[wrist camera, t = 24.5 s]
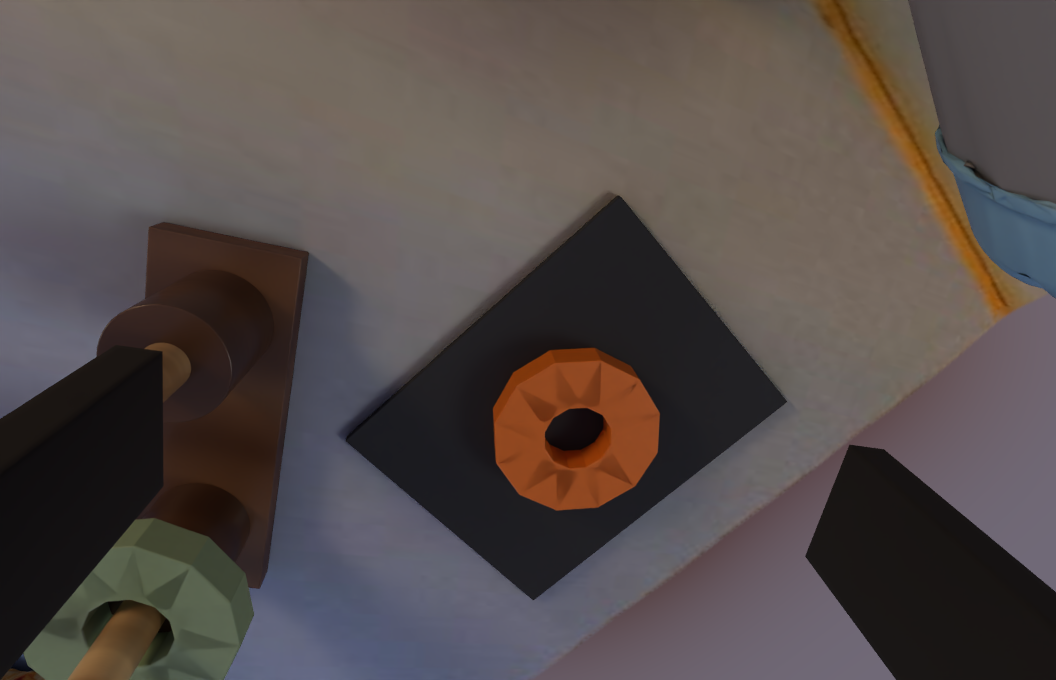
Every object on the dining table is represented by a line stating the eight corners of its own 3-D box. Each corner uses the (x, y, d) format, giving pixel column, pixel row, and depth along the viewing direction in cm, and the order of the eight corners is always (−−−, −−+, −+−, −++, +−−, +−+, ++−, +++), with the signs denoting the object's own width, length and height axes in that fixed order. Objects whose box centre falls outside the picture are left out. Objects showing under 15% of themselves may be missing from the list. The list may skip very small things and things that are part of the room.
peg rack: (162, 221, 31) (-38, 289, 19) (309, 252, 32) (211, 334, 20) (143, 556, 37) (-17, 773, 25) (267, 571, 38) (173, 786, 26)
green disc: (157, 484, 27) (134, 511, 25) (291, 617, 30) (279, 650, 28) (-2, 584, 28) (-35, 617, 26) (143, 704, 31) (123, 741, 29)
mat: (617, 194, 32) (620, 196, 32) (783, 398, 37) (787, 401, 37) (346, 436, 35) (344, 440, 35) (532, 595, 40) (533, 600, 40)
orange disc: (602, 318, 34) (610, 330, 32) (675, 440, 37) (686, 458, 35) (462, 402, 35) (462, 418, 33) (544, 515, 38) (549, 535, 36)
